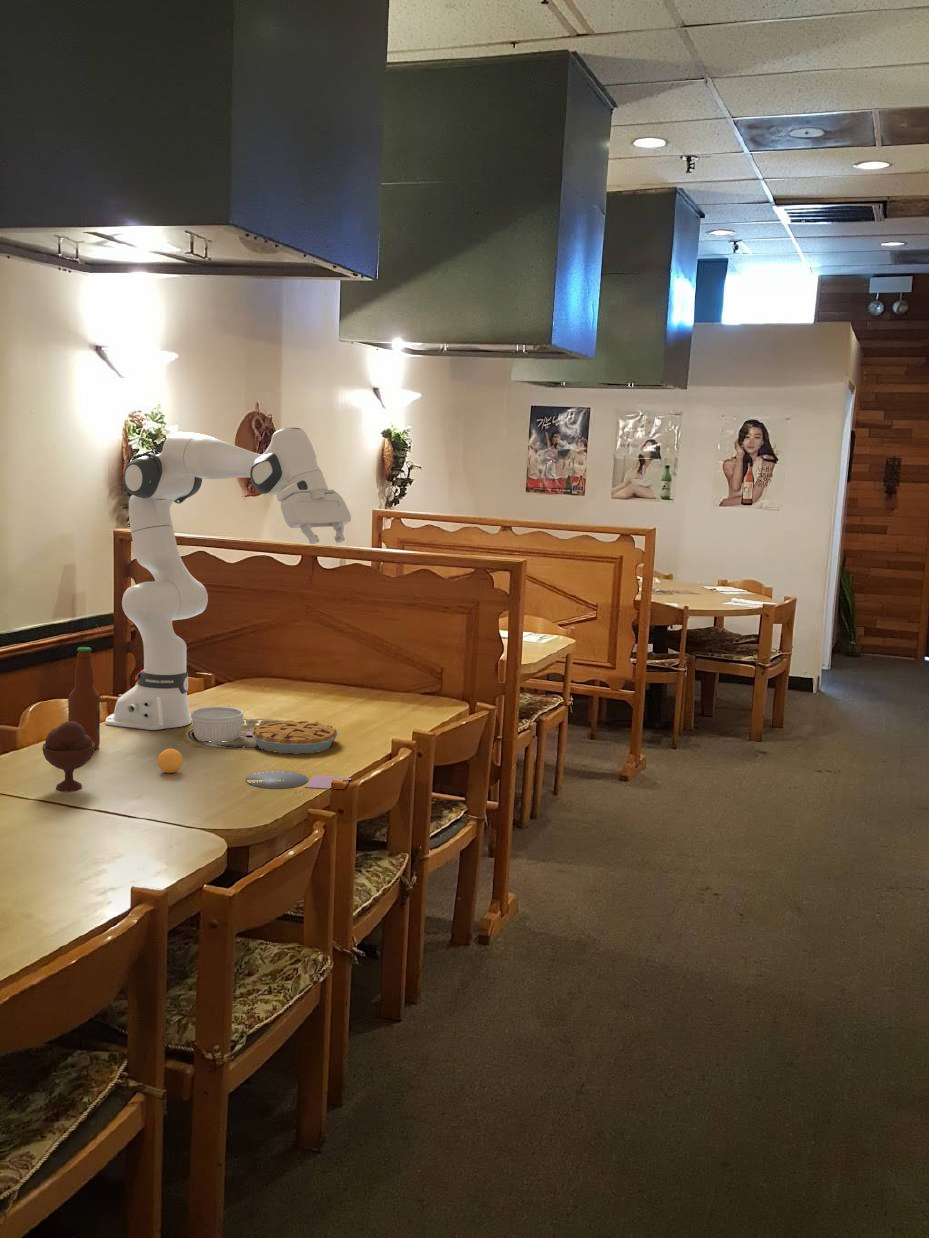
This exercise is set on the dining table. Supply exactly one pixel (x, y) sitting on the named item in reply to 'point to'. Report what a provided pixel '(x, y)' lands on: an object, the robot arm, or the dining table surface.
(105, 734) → the dining table surface
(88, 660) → the bottle
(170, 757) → the ball
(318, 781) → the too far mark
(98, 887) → the dining table surface
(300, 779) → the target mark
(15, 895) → the dining table surface
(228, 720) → the ramekin
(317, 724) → the pie
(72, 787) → the ice cream bowl
